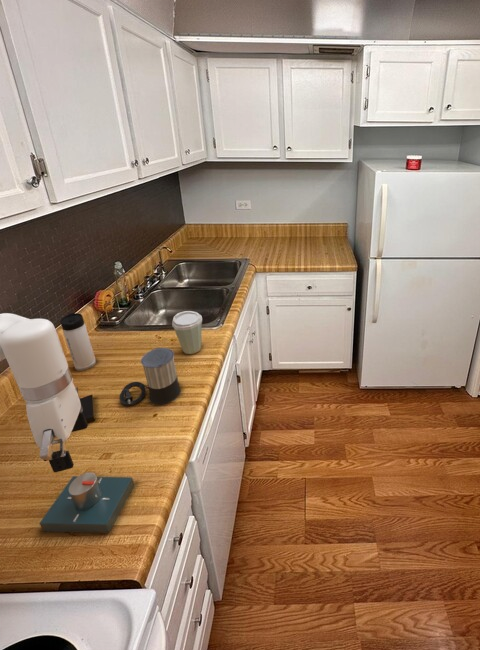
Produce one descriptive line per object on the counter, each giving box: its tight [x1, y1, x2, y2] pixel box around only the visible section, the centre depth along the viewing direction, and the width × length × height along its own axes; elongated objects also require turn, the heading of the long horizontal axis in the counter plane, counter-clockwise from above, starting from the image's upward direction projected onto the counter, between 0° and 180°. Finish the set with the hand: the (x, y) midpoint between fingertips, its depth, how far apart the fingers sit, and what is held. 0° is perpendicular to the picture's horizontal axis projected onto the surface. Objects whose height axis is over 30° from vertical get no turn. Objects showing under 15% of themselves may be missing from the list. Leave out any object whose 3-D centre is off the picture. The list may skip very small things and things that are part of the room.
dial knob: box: [69, 471, 102, 511], centre depth 72 cm, size 5×5×5 cm
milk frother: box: [119, 347, 182, 407], centre depth 102 cm, size 14×16×15 cm
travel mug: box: [60, 312, 97, 372], centre depth 115 cm, size 6×7×20 cm
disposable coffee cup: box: [171, 310, 203, 355], centre depth 124 cm, size 11×11×15 cm
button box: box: [80, 394, 96, 425], centre depth 96 cm, size 12×10×4 cm
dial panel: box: [39, 475, 135, 534], centre depth 73 cm, size 14×10×3 cm
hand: (72, 447), depth 68 cm, fingers open, 9 cm apart
